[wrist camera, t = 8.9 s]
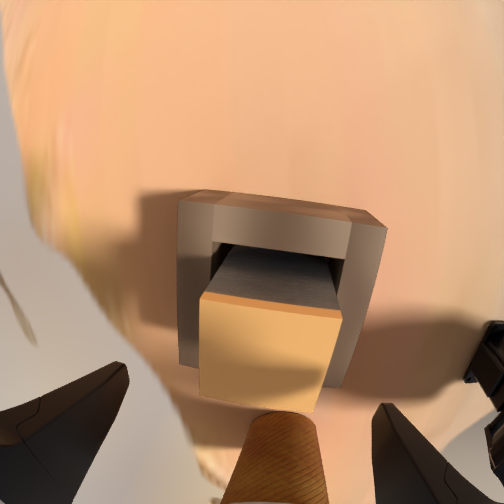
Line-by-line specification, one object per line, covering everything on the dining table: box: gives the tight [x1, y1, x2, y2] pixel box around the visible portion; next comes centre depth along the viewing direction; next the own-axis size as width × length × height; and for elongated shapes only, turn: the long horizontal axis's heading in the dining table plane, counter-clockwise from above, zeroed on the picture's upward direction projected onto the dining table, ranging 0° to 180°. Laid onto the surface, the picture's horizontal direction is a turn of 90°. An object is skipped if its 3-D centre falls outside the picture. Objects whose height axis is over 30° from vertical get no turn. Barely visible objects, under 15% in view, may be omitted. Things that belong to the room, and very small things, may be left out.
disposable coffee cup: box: [220, 412, 329, 504], centre depth 19 cm, size 10×10×12 cm
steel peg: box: [199, 244, 343, 413], centre depth 15 cm, size 5×5×9 cm
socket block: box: [177, 190, 388, 388], centre depth 17 cm, size 10×10×4 cm
